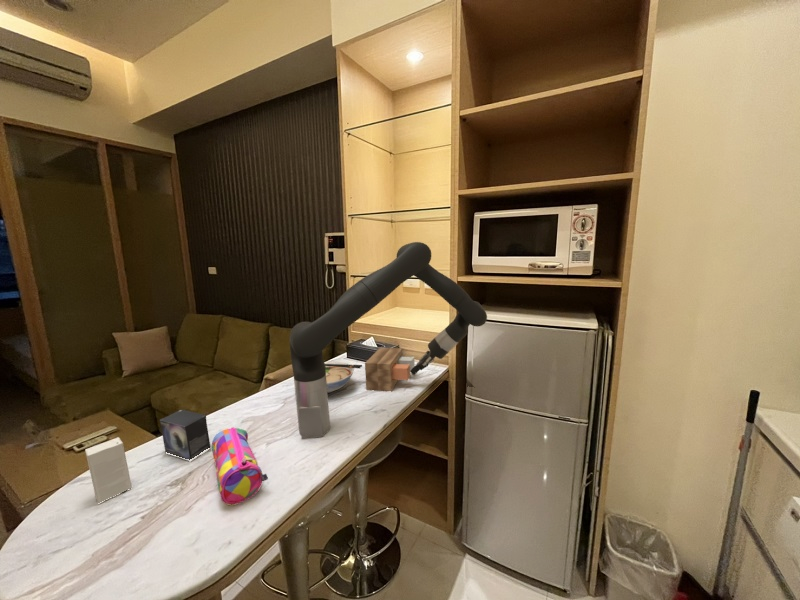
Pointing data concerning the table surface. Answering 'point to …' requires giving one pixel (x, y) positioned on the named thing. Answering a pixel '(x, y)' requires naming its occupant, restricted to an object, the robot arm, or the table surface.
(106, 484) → the skincare box
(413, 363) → the grey key
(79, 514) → the table surface
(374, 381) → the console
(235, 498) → the pencil case
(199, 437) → the small box
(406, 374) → the salmon key
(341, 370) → the ramen bowl
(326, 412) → the robot arm
